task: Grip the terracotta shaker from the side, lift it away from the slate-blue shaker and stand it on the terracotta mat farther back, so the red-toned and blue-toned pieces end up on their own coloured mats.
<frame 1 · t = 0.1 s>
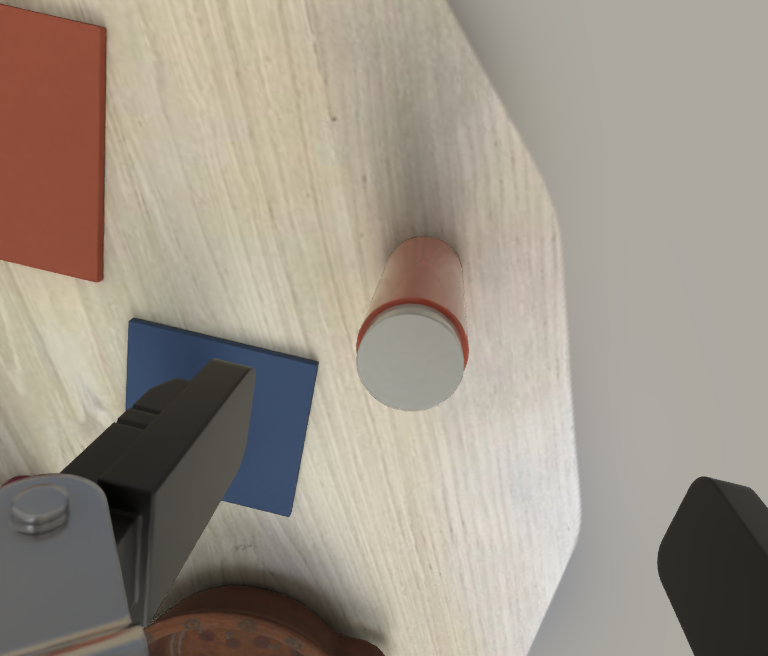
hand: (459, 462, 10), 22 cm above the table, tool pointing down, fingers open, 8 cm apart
dish: (255, 643, 45), on the table
terracotta shaker: (423, 274, 32), on the table
blue mat: (217, 420, 37), on the table
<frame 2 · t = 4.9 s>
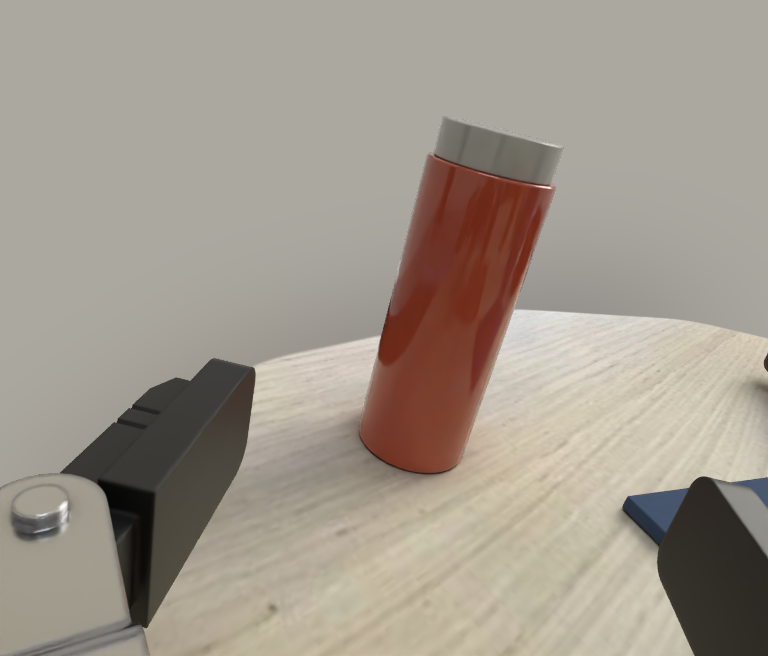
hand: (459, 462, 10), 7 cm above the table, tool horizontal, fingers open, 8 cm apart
terracotta shaker: (410, 438, 23), on the table
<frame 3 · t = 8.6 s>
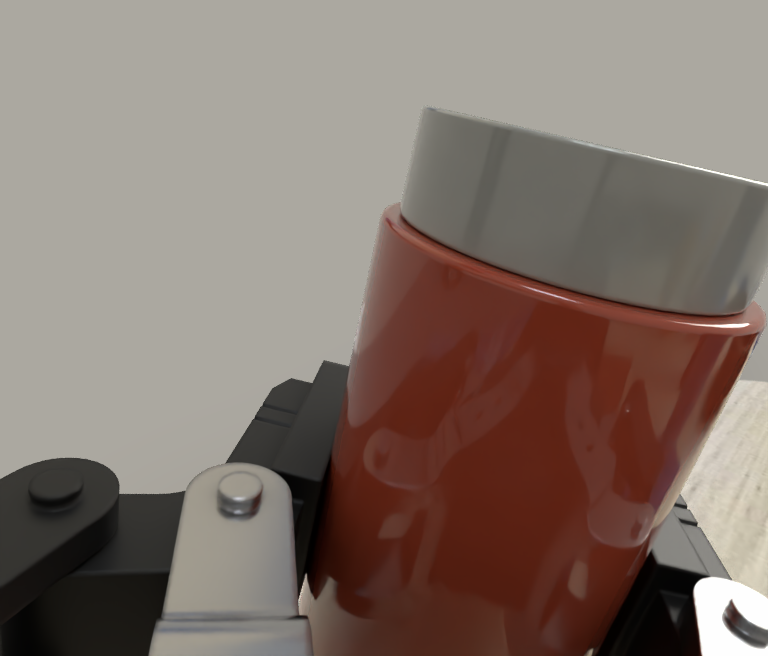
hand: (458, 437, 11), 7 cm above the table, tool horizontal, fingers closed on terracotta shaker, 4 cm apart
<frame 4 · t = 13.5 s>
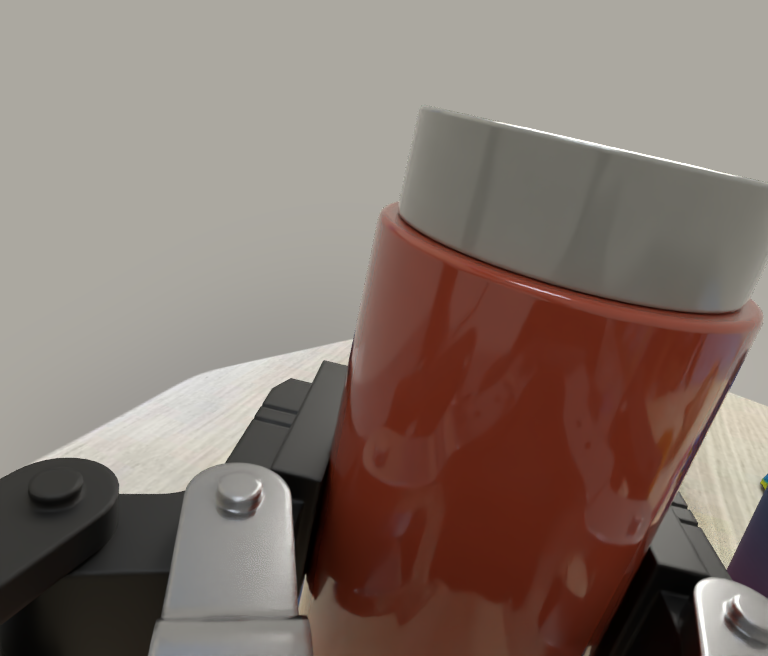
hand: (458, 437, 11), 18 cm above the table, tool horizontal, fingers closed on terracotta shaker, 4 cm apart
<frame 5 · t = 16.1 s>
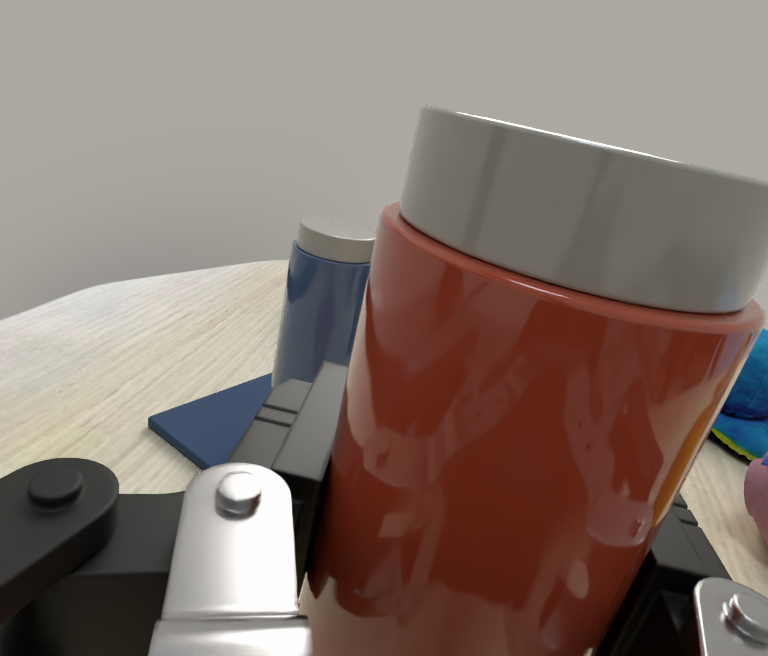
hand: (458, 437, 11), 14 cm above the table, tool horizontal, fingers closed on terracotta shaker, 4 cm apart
blue shaker: (302, 430, 32), point 1 cm above the table, touching blue mat
plush toy: (698, 408, 49), on the table
blue mat: (301, 439, 33), on the table
when the fingers open (7 cm above the table, at t = 18.3 s): terracotta shaker stays where it is, resting on terracotta mat.
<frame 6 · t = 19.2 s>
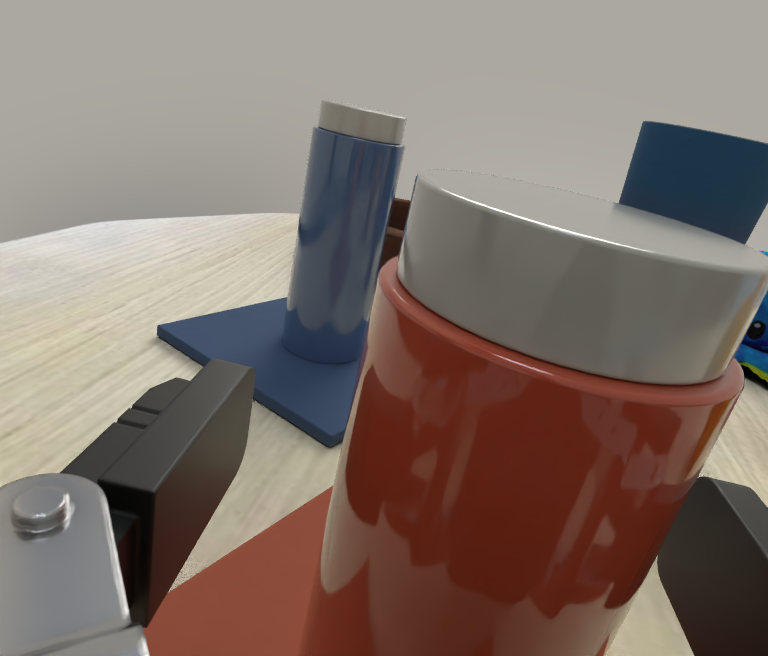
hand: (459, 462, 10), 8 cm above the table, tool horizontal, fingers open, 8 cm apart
dish: (431, 279, 49), on the table
cup: (605, 401, 33), on the table
blue shaker: (322, 344, 30), point 1 cm above the table, touching blue mat
plush toy: (729, 352, 47), on the table
blue mat: (320, 354, 30), on the table
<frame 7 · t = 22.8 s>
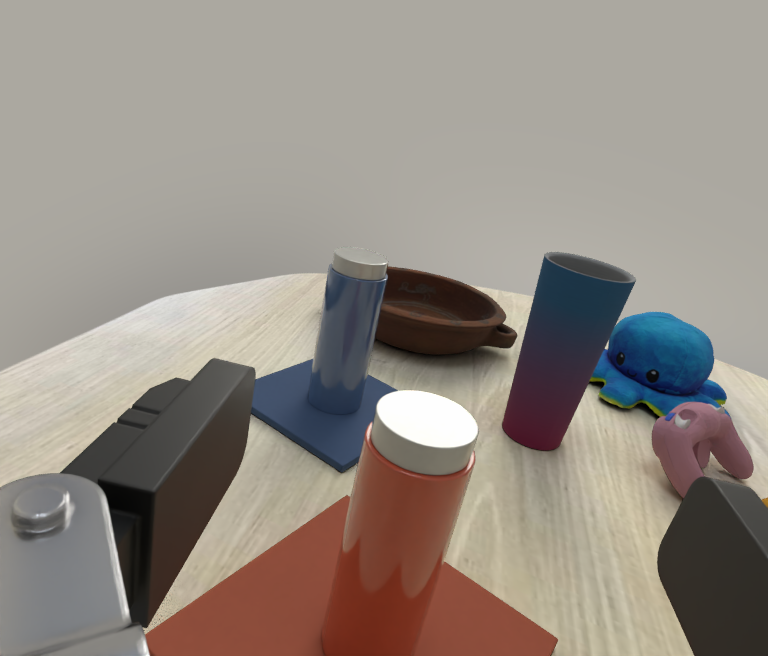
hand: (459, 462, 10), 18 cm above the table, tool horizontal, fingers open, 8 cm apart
dish: (414, 333, 63), on the table
cup: (530, 434, 48), on the table
terracotta mat: (363, 647, 26), on the table
blue shaker: (334, 399, 45), point 1 cm above the table, touching blue mat
video game controller: (689, 476, 47), on the table
terracotta shaker: (368, 640, 26), point 1 cm above the table, touching terracotta mat
plush toy: (641, 389, 62), on the table
blue mat: (333, 406, 45), on the table
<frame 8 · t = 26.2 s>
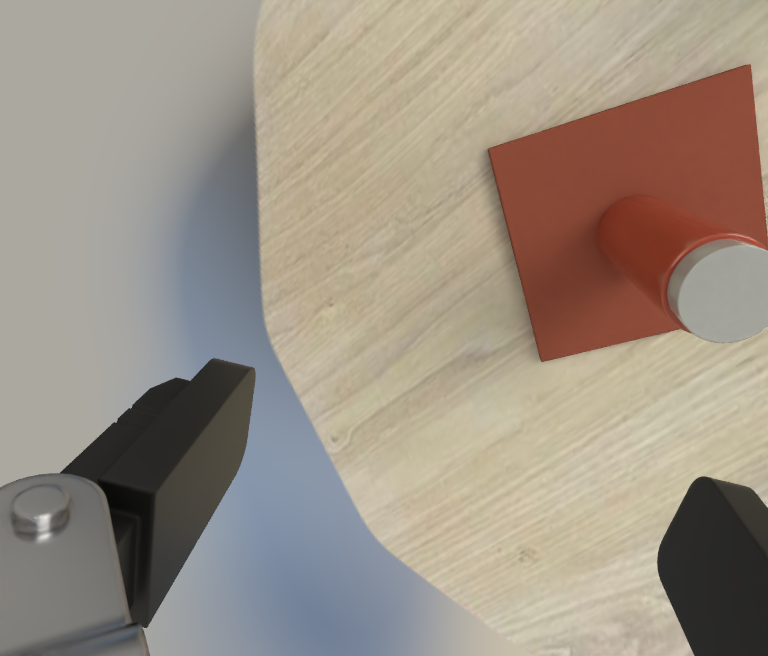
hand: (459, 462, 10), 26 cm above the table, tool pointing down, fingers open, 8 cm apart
terracotta mat: (631, 227, 33), on the table
terracotta shaker: (635, 231, 33), point 1 cm above the table, touching terracotta mat
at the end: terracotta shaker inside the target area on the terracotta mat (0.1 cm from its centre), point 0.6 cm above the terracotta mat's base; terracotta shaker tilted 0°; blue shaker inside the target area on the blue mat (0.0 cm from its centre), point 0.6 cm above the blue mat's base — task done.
